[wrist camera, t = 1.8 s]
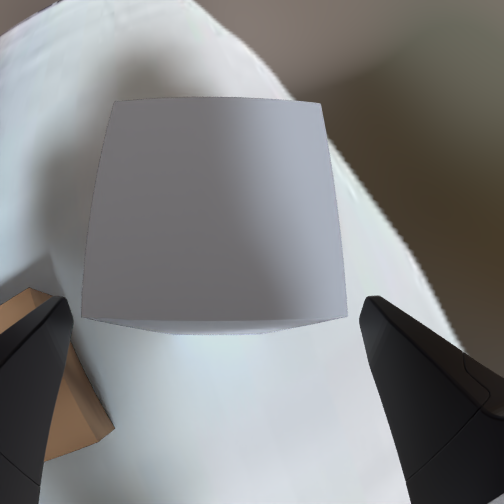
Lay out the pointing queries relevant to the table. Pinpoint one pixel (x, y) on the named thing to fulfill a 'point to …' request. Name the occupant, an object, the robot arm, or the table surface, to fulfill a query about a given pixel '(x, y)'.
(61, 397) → the plinth
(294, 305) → the pillar
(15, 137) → the table surface
